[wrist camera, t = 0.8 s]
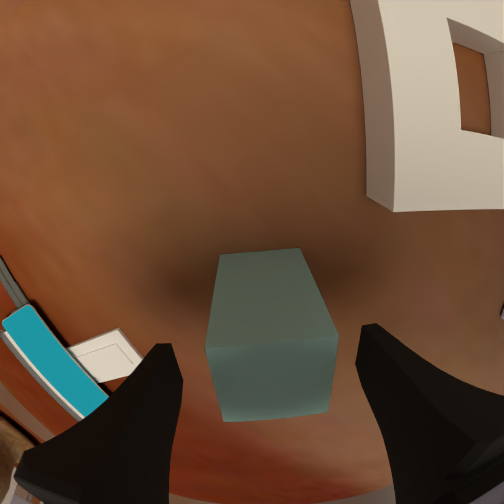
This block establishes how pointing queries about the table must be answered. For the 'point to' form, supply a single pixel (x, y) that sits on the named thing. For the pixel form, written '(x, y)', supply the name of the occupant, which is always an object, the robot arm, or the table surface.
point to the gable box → (10, 489)
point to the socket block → (429, 103)
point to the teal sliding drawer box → (65, 356)
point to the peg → (269, 337)
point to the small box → (33, 499)
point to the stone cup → (10, 453)
